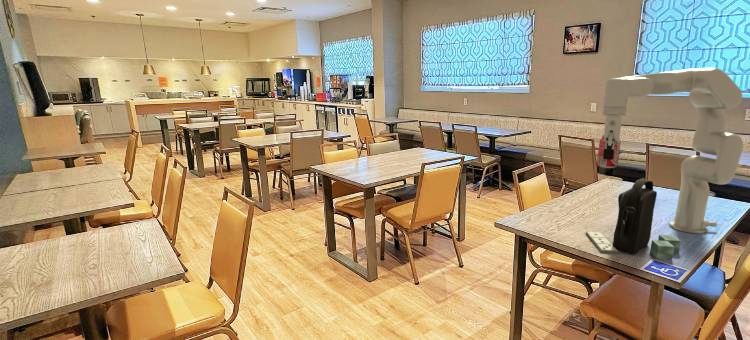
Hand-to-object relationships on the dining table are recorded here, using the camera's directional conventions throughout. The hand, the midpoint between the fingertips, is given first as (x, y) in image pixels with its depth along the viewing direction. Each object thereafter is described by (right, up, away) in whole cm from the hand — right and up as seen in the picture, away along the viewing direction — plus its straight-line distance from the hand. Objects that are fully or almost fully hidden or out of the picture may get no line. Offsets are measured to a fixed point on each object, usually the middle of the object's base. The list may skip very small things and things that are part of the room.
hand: (608, 157), depth 148 cm
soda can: (0, -4, +1) cm, 4 cm away
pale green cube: (+20, -36, -4) cm, 41 cm away
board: (-1, -34, +3) cm, 34 cm away
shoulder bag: (+8, -36, -1) cm, 37 cm away
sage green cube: (+14, -37, -8) cm, 40 cm away
